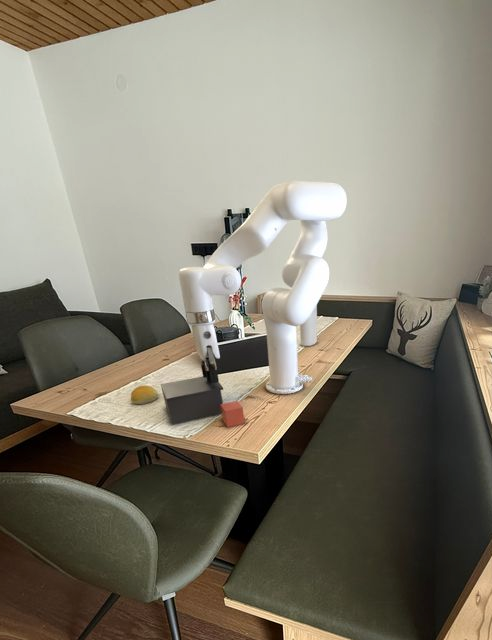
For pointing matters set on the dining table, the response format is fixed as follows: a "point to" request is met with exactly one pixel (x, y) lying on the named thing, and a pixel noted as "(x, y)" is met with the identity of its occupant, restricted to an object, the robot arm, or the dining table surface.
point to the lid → (189, 388)
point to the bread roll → (143, 395)
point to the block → (232, 413)
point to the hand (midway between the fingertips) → (210, 379)
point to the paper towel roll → (309, 330)
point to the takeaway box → (194, 407)
